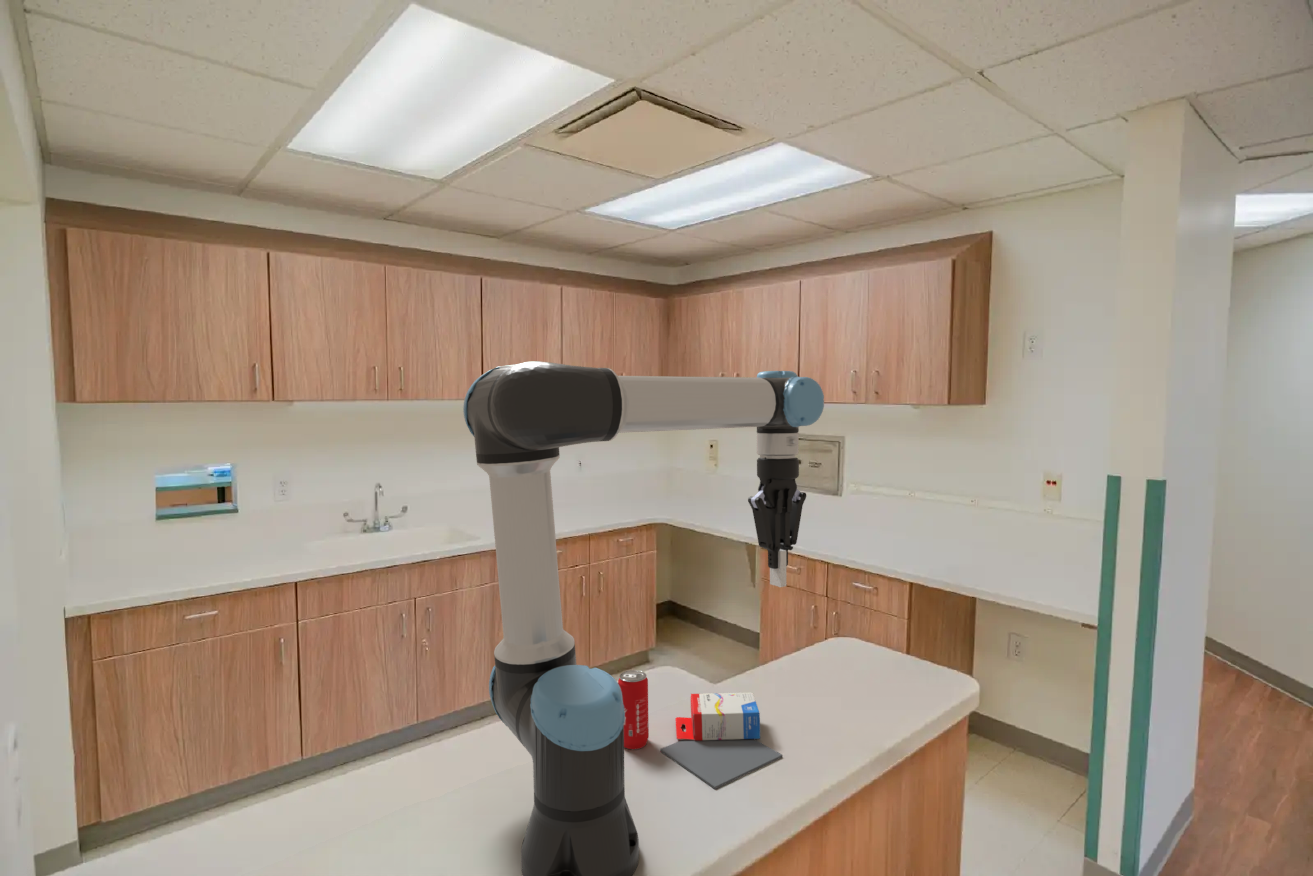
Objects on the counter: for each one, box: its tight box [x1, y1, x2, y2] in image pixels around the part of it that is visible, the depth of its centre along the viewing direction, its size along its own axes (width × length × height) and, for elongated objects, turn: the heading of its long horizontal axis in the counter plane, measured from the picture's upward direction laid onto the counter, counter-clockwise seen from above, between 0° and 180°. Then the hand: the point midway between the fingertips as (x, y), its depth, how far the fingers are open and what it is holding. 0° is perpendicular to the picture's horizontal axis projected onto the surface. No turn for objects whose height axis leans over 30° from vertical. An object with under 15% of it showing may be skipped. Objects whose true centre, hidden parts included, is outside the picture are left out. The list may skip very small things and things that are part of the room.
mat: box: [659, 739, 783, 790], centre depth 109 cm, size 15×14×1 cm
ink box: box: [675, 692, 761, 741], centre depth 117 cm, size 8×5×15 cm
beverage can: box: [617, 669, 650, 751], centre depth 113 cm, size 5×5×12 cm
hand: (778, 584), depth 118 cm, fingers closed
